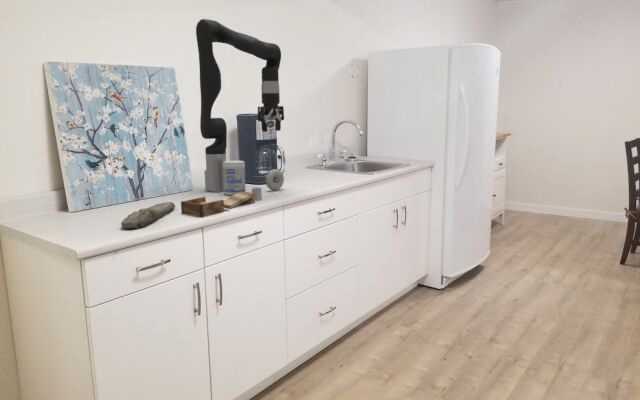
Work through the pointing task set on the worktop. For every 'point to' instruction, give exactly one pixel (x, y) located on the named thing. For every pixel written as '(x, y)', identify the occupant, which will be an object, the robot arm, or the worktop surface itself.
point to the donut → (278, 183)
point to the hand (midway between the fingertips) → (271, 131)
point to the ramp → (239, 199)
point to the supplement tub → (233, 177)
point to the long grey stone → (147, 215)
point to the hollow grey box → (257, 193)
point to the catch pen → (201, 207)
